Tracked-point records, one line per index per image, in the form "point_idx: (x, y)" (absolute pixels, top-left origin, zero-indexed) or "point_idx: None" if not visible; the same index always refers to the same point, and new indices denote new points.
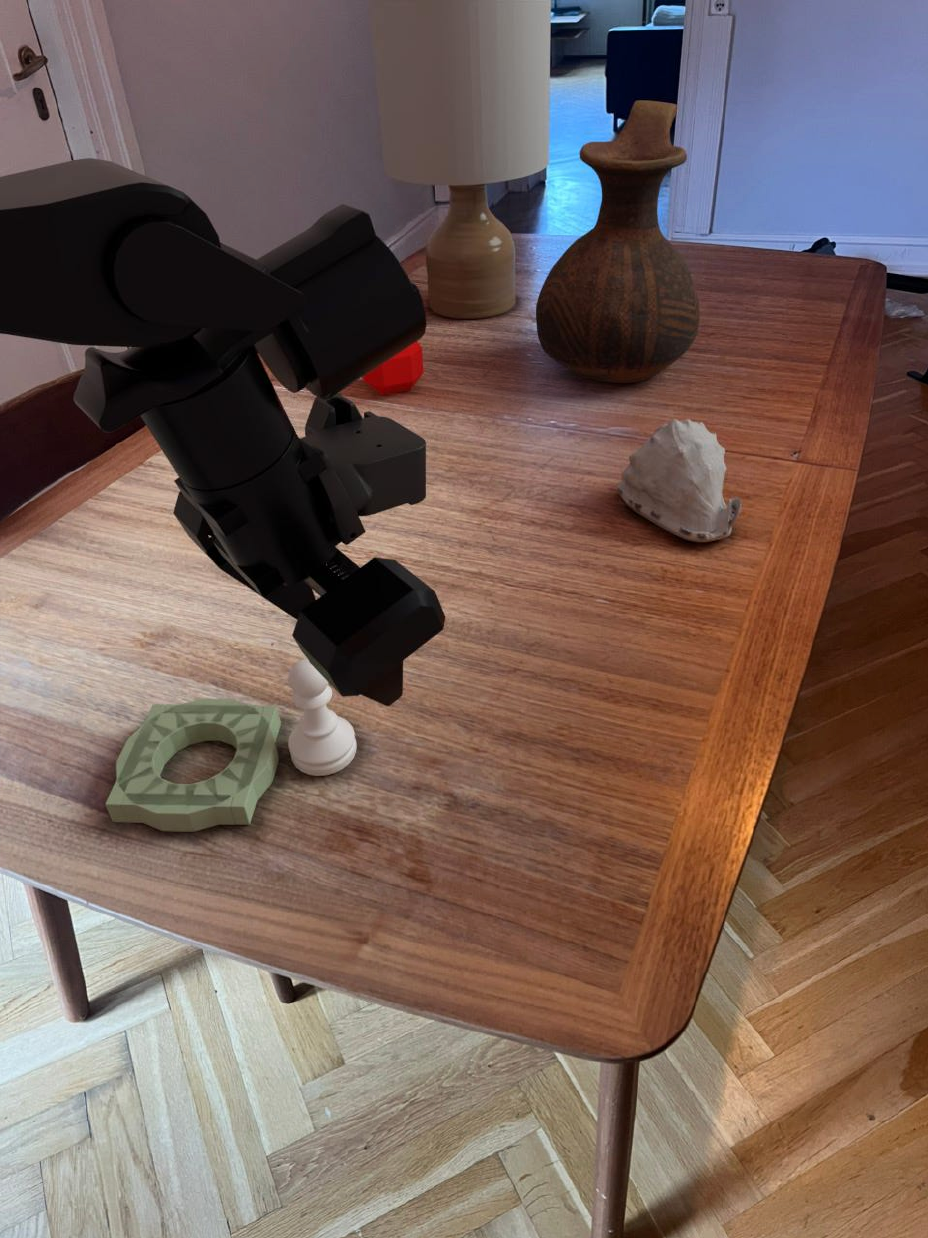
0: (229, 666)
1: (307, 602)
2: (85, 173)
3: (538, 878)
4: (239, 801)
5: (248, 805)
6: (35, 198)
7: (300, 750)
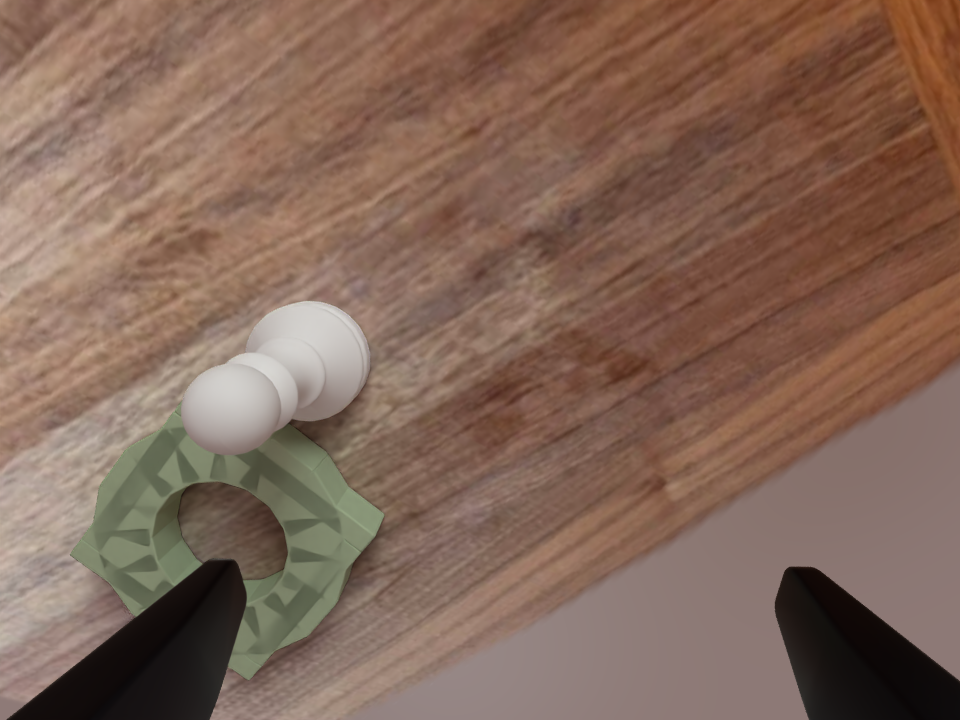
0: (20, 386)
1: (192, 658)
2: None
3: (759, 224)
4: (360, 537)
5: (367, 520)
6: None
7: (316, 413)
